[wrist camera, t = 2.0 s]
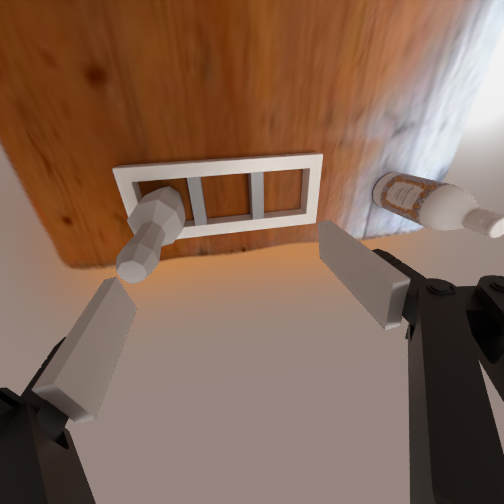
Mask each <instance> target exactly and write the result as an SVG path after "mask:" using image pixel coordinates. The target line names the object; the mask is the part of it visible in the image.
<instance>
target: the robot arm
mask: <svg viewBox="0 0 504 504" xmlns="http://www.w3.org/2000/svg"><path fill="white" fill-rule="evenodd" d="M318 230H319V251H320V252H319V253H320V258H321V260H322V261H323V262H324V263H325V264H326V265H327V266H328V267H329V268H330V270H331V271H332V272H333V273H334V274H335V275H336V276H337V277H338V279H339V280H340V281H341V282H342V283H343V284H344V285H345V286H346V287H347V289H348V290H349V291H350V292H351V293H352V294H353V295H354V296H355V297H356V299H357V300H358V301H359V302H360V303H361V304H362V305H363V306H364V307H365V309H366V310H367V311H368V312H369V313H370V314H371V315H372V316H373V318H374V319H375V320H376V321H377V322H378V323H379V324H380V325H381V326H382V328H383V329H384V330H387V329H390V328H394V327H397V326H400V324H401V319H402V316H403V317H404V318H405V319H406V320H407V321H408V322H409V325H408V329H407V333H406V337H405V338H406V339H408V374H409V446H410V447H409V449H410V504H504V454H503V450H502V447H501V442H500V439H499V435H498V431H497V428H496V424H495V420H494V417H493V412H492V409H491V405H490V401H489V398H488V394H487V390H486V386H485V382H484V379H483V375H482V371H481V367H480V364H479V361H480V363H481V364H482V366H483V368H484V370H485V371H486V373H487V375H488V376H489V378H490V380H491V381H492V383H493V385H494V386H495V388H496V390H497V391H498V393H499V395H500V396H501V398H502V400H503V401H504V277H503V276H495V275H491V276H490V275H489V276H484V277H481V278H480V280H479V282H478V284H477V286H460V287H456V286H454V285H453V284H452V283H450V282H447V281H445V280H441V279H433V278H429V279H427V278H425V277H424V276H422V275H421V274H419V273H418V272H416V271H415V270H413V269H412V268H410V267H409V266H407V265H406V264H404V263H402V262H401V261H400V260H398V259H396V258H395V257H394V256H393V255H391V254H390V253H388V252H385V251H382V250H380V249H375V250H370V249H368V248H367V247H366V246H364V245H363V244H362V243H360V242H359V241H358V240H356V239H355V238H354V237H352V236H351V235H349V234H348V233H347V232H345V231H344V230H343V229H341V228H340V227H338V226H337V225H336V224H334V223H333V222H332V221H330V220H327V221H323V222H319V223H318ZM136 310H137V307H136V306H135V304H134V303H133V301H132V300H131V298H130V297H129V295H128V293H127V292H126V290H125V289H124V287H123V286H122V284H121V283H120V281H119V280H118V278H117V277H114V278H110V279H106V280H104V281H103V283H102V284H101V286H100V287H99V289H98V290H97V292H96V293H95V295H94V296H93V298H92V299H91V301H90V302H89V304H88V305H87V307H86V308H85V310H84V311H83V313H82V314H81V316H80V317H79V319H78V320H77V322H76V323H75V325H74V327H73V328H72V329H71V331H70V332H69V334H68V335H67V337H64V338H63V339H62V340H61V341H60V342H59V343H58V344H57V345H56V346H55V347H54V348H53V350H52V351H51V353H50V354H49V355H48V357H47V359H46V360H45V361H44V363H43V364H42V366H41V368H40V369H39V370H38V372H37V373H36V374H35V376H34V377H33V379H32V380H31V382H30V383H29V384H28V386H27V387H26V389H25V390H24V392H23V393H22V395H21V396H18V395H17V394H15V393H14V392H12V391H11V390H9V389H8V388H0V504H96V503H95V500H94V498H93V495H92V492H91V489H90V487H89V484H88V481H87V478H86V476H85V473H84V470H83V467H82V465H81V462H80V459H79V457H78V454H77V451H76V448H75V446H74V443H73V440H72V438H71V435H70V432H69V431H68V430H67V429H66V428H65V425H66V423H67V421H68V419H69V418H70V419H71V420H73V421H74V422H75V423H77V424H80V423H83V422H87V421H90V420H93V419H96V418H97V415H98V412H99V409H100V407H101V404H102V401H103V399H104V396H105V393H106V391H107V388H108V385H109V383H110V380H111V377H112V375H113V372H114V369H115V367H116V364H117V361H118V359H119V356H120V353H121V350H122V348H123V345H124V343H125V340H126V337H127V334H128V332H129V328H130V326H131V324H132V321H133V318H134V316H135V313H136ZM478 359H479V360H478Z"/></svg>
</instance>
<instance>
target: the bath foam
mask: <svg viewBox="0 0 504 504" xmlns="http://www.w3.org/2000/svg"><path fill="white" fill-rule="evenodd" d="M373 199H374V202H375V203H376V204H377V205H378V206H380V207H382V208H384V209H387V210H389V211H391V212H393V213H395V214H398V215H400V216H402V217H404V218H407V219H409V220H411V221H413V222H416V223H418V224H420V225H422V226H425V227H428V228H431V229H435V230H453V229H461V228H467V229H470V230H472V231H475V232H477V233H480V234H483V235H485V236H488V237H491V238H497V237H500V236H501V235H503V234H504V215H502V214H498V213H495V212H491V211H488V210H484V209H480V207H479V205H478V204H477V202H476V201H475V199H474V198H473V197H472V195H471V194H470V193H468V192H467V191H466V190H464V189H462V188H460V187H458V186H455V185H451V184H447V183H443V182H438V181H434V180H430V179H425V178H421V177H416V176H412V175H408V174H403V173H398V172H392V173H389V174H387V175H385V176H383V177H382V178H381V179H380V180H379V181H378V183H377V184H376V186H375V188H374V191H373Z"/></svg>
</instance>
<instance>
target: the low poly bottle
mask: <svg viewBox="0 0 504 504" xmlns="http://www.w3.org/2000/svg"><path fill="white" fill-rule="evenodd" d="M127 222H128V224H129V226H130V228H131V229H132V231H133V233H134V235H135V236H134V237H133V238H132V239H131V240H130V241H129V242H128V243H127V244H126V245H125V246H124V247H123V249H122V250H121V252H120V253H119V255H118V256H117V258H116V271H117V273H118V274H119V276H120V277H121V279H122V280H124V281H127V282H129V283H131V284H133V283H137V282H140V281H143V280H144V279H145V278H146V277H147V276H148V275H149V274H151V273H152V271H153V270H154V269H155V267H156V266H157V265H158V263H159V259H160V252H161V246H164V245H168V244H172V243H173V242H174V241H175V240H176V238H177V237H178V236H179V234H180V233H181V231H182V230H183V227H184V223H185V211H184V205H183V201H182V198H181V196H180V193H179V192H178V191H176V190H175V189H173V188H172V187H170V186H167V187H163V188H159V189H157V190H155V191H153V192H151V193H149V194H147V195H145V196H144V197H143V198H142V199H141V201H140V202H139V203H138V204H137V205H136V207H135V208H134V210H133V212H132V213H131V215H130V216H129V218H128V220H127Z"/></svg>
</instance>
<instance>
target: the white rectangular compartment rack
mask: <svg viewBox="0 0 504 504" xmlns="http://www.w3.org/2000/svg"><path fill="white" fill-rule="evenodd" d="M322 159H323V154H321V153H316V152H312V153H297V154H283V155H268V156H253V157H238V158H224V159H209V160H194V161H180V162H165V163H150V164H136V165H121V166H117V167H115V168H112V170H113V173H114V176H115V179H116V182H117V185H118V188H119V191H120V194H121V197H122V200H123V203H124V206H125V209H126V212H127V215H128V218H129V216H130V215H131V213H132V212H133V210H134V208H135V207H136V205H137V204H138V203H139V202H140V201H141V199H142V195H141V191H140V188H139V185H138V181H150V180H163V179H176V178H187V182H188V188H189V193H190V199H191V204H192V209H193V215H194V220H190V221H185V223H184V227H183V230H182V231H181V233H180V234H179V236H178V237H177V238H176V239H181V238H190V237H199V236H207V235H216V234H225V233H233V232H242V231H250V230H259V229H268V228H276V227H285V226H294V225H302V224H311V223H316V214H317V205H318V196H319V187H320V177H321V168H322ZM291 169H303V177H302V192H301V206H300V209H294V210H285V211H275V212H266V213H264V190H263V172H265V171H278V170H291ZM240 173H248V184H249V205H250V214H247V215H237V216H228V217H218V218H209V219H207V214H206V208H205V201H204V194H203V188H202V181H201V176H214V175H227V174H240Z"/></svg>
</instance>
